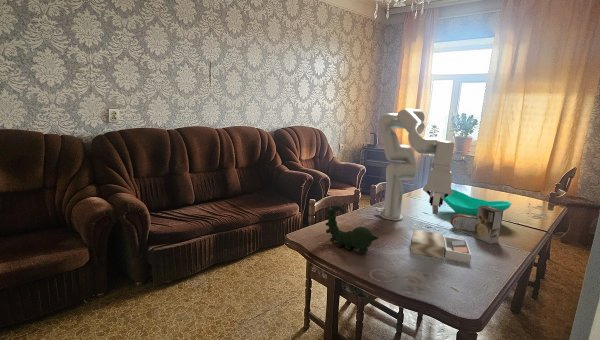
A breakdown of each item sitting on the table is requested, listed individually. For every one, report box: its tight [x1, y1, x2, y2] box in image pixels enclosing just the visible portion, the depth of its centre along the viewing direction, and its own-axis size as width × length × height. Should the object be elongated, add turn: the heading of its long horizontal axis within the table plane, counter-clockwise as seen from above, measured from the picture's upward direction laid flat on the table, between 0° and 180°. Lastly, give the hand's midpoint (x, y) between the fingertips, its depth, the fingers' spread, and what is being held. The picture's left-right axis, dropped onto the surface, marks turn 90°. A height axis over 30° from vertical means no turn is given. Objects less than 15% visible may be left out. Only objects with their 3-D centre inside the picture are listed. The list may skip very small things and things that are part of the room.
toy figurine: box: [324, 205, 379, 255], centre depth 135 cm, size 9×19×25 cm
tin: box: [450, 213, 477, 233], centre depth 164 cm, size 15×3×8 cm, turn 71°
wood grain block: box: [410, 228, 445, 259], centre depth 140 cm, size 13×16×5 cm
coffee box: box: [473, 205, 504, 244], centre depth 153 cm, size 9×6×16 cm
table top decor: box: [443, 188, 512, 216], centre depth 186 cm, size 40×28×13 cm
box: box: [443, 235, 472, 265], centre depth 136 cm, size 10×16×4 cm, turn 159°
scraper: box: [431, 192, 441, 216], centre depth 147 cm, size 3×16×8 cm, turn 158°
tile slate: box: [452, 239, 466, 250], centre depth 139 cm, size 5×5×2 cm
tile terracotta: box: [453, 247, 468, 254], centre depth 132 cm, size 5×5×2 cm
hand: (435, 205), depth 147 cm, fingers closed on scraper, 3 cm apart
